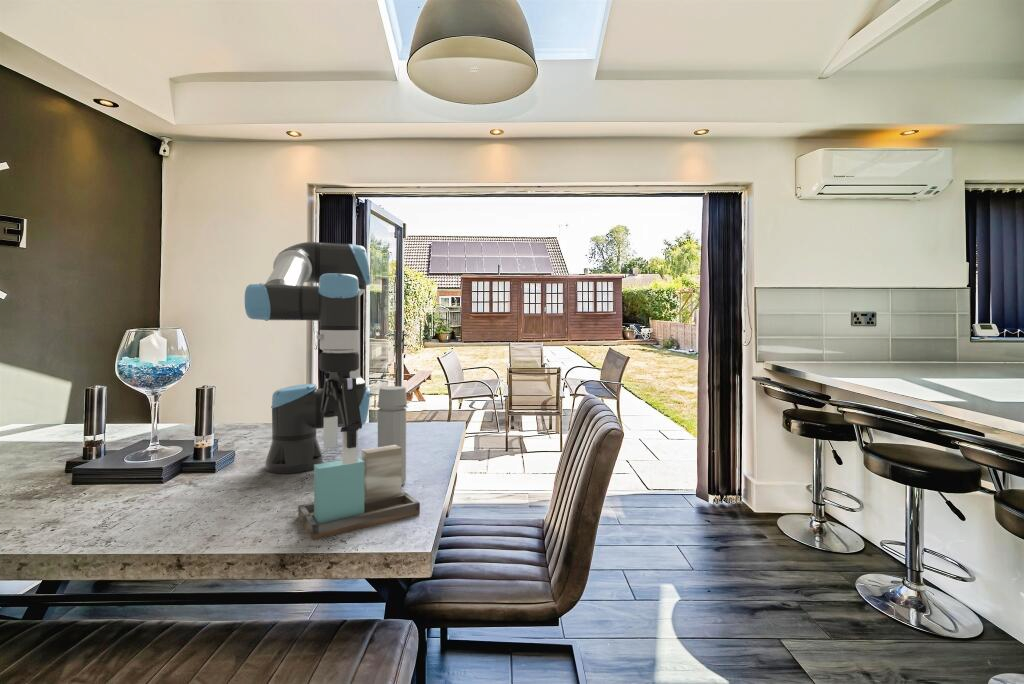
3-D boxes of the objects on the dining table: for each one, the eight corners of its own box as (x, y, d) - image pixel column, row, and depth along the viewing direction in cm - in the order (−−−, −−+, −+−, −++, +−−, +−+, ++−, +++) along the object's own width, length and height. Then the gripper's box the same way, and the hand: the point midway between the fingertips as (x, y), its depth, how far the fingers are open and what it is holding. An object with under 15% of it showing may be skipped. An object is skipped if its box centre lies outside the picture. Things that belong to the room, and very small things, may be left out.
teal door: (314, 523, 95) (313, 464, 94) (358, 513, 100) (358, 457, 100) (318, 529, 92) (318, 469, 92) (364, 519, 97) (364, 461, 97)
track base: (298, 517, 100) (297, 456, 100) (396, 496, 113) (396, 442, 113) (313, 540, 90) (312, 472, 89) (419, 513, 103) (419, 454, 102)
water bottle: (400, 490, 117) (400, 390, 116) (371, 487, 119) (371, 389, 118) (414, 478, 126) (415, 385, 125) (387, 476, 128) (387, 384, 127)
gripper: (305, 347, 103) (306, 443, 104) (337, 356, 82) (338, 475, 84) (340, 346, 107) (340, 438, 108) (379, 355, 87) (379, 468, 88)
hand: (339, 454), depth 96 cm, fingers open, 13 cm apart
